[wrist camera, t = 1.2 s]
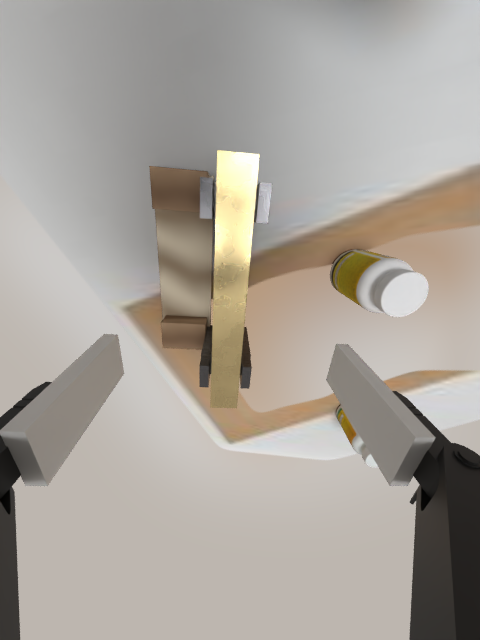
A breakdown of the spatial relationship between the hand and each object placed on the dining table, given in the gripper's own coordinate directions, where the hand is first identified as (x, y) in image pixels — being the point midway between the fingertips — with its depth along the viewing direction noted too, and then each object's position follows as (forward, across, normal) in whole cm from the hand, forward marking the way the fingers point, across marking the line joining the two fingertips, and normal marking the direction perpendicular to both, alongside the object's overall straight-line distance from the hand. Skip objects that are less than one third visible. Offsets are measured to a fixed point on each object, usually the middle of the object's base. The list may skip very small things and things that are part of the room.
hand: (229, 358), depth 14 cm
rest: (+20, -6, +1) cm, 21 cm away
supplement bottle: (+20, +24, -24) cm, 39 cm away
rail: (+12, 0, 0) cm, 12 cm away
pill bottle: (+20, +17, +2) cm, 26 cm away
